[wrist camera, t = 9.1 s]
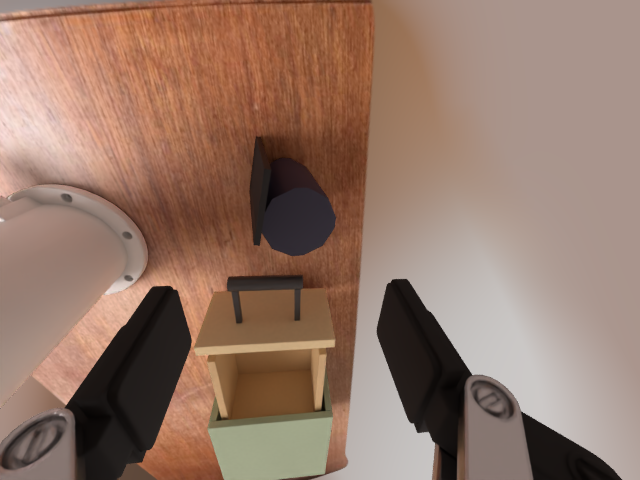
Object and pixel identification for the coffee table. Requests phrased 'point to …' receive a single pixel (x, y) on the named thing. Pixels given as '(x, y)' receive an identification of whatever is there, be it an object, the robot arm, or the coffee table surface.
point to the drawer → (267, 346)
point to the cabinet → (273, 443)
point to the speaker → (288, 205)
